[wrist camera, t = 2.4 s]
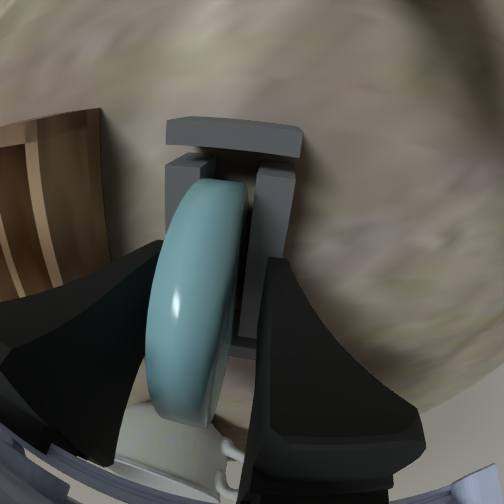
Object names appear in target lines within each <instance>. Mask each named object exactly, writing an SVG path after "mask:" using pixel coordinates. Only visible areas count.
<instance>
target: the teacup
mask: <svg viewBox="0 0 504 504" xmlns="http://www.w3.org/2000/svg"><path fill="white" fill-rule="evenodd" d="M228 456H229V457H231V458H233V459H235V460H237V461H239V462H241V463H242V464H243V462H244V456H245V453H244V452H243V451H241V450H239V449H237V448H236V447H235V446H234V444H233V442H232V440H230V439H229V438H227V437H223V436H222V435H221V434H220V433H219V431H218V430H217V429H215V427H214V425H213V424H212V423H210V425H209V427H208V428H207V429H202V428H197V427H193V426H188V425H184V424H180V423H176V422H172V421H168V420H165V419H163V418H161V417H160V416H159V415H158V414H157V413H156V411H155V409H154V407H153V405H152V401H151V402H148V403H138V404H134V405H132V406H129V407H128V408H126V409H125V412H124V416H123V420H122V424H121V428H120V433H119V437H118V443H117V448H116V453H115V460H114V464H113V465H111V466H109V467H105V468H106V469H107V470H109V471H110V472H112V473H113V474H115V475H117V476H120V477H122V478H125V479H127V480H130V481H133V482H136V483H138V484H141V485H144V486H147V487H150V488H154V489H157V490H160V491H164V492H167V493H171V494H174V495H178V496H182V497H186V498H191V499H195V500H200V501H205V502H210V503H216V504H219V503H220V494H221V495H223V496H224V497H226V498H228V499H231V500H235V501H237V496H238V491H239V490H237V489H232V488H230V487H229V486H228V484H227V481H226V474H225V471H226V466H227V459H228Z"/></svg>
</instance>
